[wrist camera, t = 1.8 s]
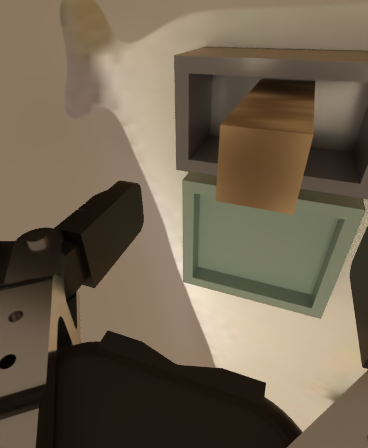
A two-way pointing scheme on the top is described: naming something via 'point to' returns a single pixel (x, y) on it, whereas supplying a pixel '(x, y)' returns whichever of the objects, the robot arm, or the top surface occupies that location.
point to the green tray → (267, 246)
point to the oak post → (266, 146)
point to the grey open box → (282, 70)
